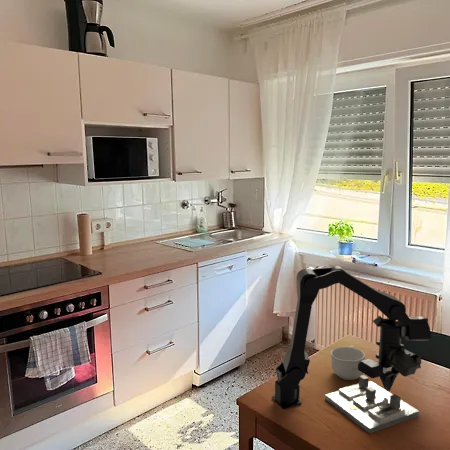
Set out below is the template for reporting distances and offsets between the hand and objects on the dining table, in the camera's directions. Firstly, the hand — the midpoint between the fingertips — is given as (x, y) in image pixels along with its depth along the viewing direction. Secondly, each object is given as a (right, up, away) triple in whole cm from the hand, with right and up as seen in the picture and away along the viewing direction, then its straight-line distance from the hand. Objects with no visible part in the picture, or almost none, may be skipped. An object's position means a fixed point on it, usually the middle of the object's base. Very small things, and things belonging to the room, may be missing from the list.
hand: (387, 390), depth 123 cm
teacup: (-6, -1, +17) cm, 18 cm away
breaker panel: (-6, -4, -2) cm, 7 cm away
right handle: (-1, -2, -7) cm, 7 cm away
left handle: (-6, 0, +4) cm, 7 cm away
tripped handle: (-6, -1, -3) cm, 7 cm away
